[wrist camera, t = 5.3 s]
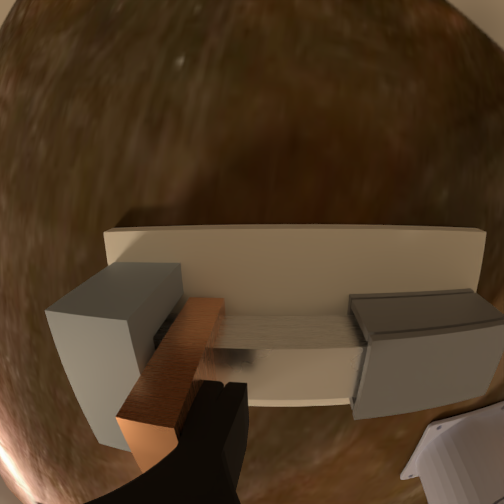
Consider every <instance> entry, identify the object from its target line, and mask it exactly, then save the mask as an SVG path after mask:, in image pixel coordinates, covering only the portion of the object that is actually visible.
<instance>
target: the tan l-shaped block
mask: <svg viewBox="0 0 504 504" xmlns="http://www.w3.org/2000/svg"><path fill="white" fill-rule="evenodd" d="M153 341H154V346H155V353H154V354H153V356H152V357H151V359H150V361H149V362H148V364H147V365H146V367H145V369H144V370H143V372H142V374H141V375H140V377H139V379H138V380H137V382H136V383H135V385H134V387H133V388H132V390H131V392H130V393H129V395H128V397H127V398H126V400H125V402H124V403H123V405H122V407H121V408H120V410H119V412H118V413H117V415H116V420H117V422H118V424H119V426H120V429H121V431H122V433H123V435H124V437H125V439H126V442H127V444H128V446H129V448H130V450H131V452H132V454H133V456H134V458H135V460H136V461H137V463H138V465H139V467H140V469H141V471H142V473H145V472H146V471H147V470H149V469H150V468H151V467H153V466H154V465H155V464H157V463H158V462H159V461H161V460H162V459H163V458H164V457H165V456H167V455H168V454H169V453H170V452H171V451H172V450H173V449H174V448H176V447H177V444H178V442H179V439H180V437H181V433H182V430H183V427H184V424H185V421H186V417H187V414H188V412H189V409H190V407H191V405H192V403H193V401H194V399H195V397H196V395H197V393H198V391H199V389H200V387H201V385H202V384H203V382H204V380H212V381H221V382H222V383H223V384H224V387H225V385H226V384H227V383H228V382H242V383H247V389H248V400H318V399H337V398H351V397H357V394H358V390H359V386H360V381H361V377H362V372H363V367H364V363H365V358H366V352H367V347H368V342H369V341H366V339H365V337H364V334H363V332H362V330H361V328H360V326H359V324H358V321H357V319H356V317H355V315H329V316H233V315H225V300H224V298H200V297H189V299H188V300H187V302H186V303H185V305H184V307H183V308H182V310H181V311H180V313H170V314H169V315H168V317H167V318H166V319H165V321H164V322H163V324H162V325H161V327H160V328H159V330H158V331H157V332H156V334H155V335H154V337H153Z"/></svg>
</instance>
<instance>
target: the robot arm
mask: <svg viewBox="0 0 504 504" xmlns="http://www.w3.org/2000/svg"><path fill="white" fill-rule="evenodd" d="M248 427H249V411H248V389H247V383H242V382H228V383H227V384H226V385H225V387H224V384H223V383H222V382H221V381H212V380H204V382H203V384H202V385H201V387H200V389H199V391H198V393H197V395H196V397H195V399H194V401H193V403H192V405H191V407H190V409H189V412H188V414H187V417H186V421H185V424H184V427H183V430H182V433H181V437H180V439H179V442H178V444H177V447H176V448H174V449H173V450H172V451H171V452H170V453H169V454H168V455H167V456H165V457H164V458H163V459H162V460H161V461H159V462H158V463H157V464H155V465H154V466H153V467H151V468H150V469H149V470H147V471H146V472H145V473H143V474H142V475H140V476H139V477H137V478H135V479H134V480H132V481H130V482H129V483H127V484H125V485H123V486H121V487H120V488H118V489H116V490H114V491H112V492H110V493H108V494H106V495H104V496H101V497H99V498H97V499H94V500H92V501H89V502H87V503H84V504H240V501H239V498H238V496H237V493H236V487H237V483H238V479H239V475H240V471H241V467H242V463H243V459H244V455H245V450H246V446H247V437H248ZM417 476H420V479H421V482H422V485H423V488H424V491H425V494H426V498H427V501H428V504H504V401H502V402H499V403H496V404H494V405H491V406H488V407H485V408H482V409H478V410H475V411H472V412H468V413H465V414H461V415H458V416H454V417H450V418H446V419H442V420H438V421H434V422H432V423H430V424H429V425H428V426H427V428H426V430H425V432H424V434H423V436H422V438H421V440H420V442H419V444H418V445H417V447H416V449H415V451H414V453H413V455H412V456H411V458H410V460H409V462H408V463H407V465H406V467H405V468H404V470H403V472H402V473H401V475H400V478H401V480H405V479H409V478H413V477H417Z"/></svg>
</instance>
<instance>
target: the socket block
mask: <svg viewBox="0 0 504 504" xmlns="http://www.w3.org/2000/svg"><path fill="white" fill-rule="evenodd" d="M183 294H184V292H183V283H182V274H181V264H180V263H152V262H114V263H112V264H111V265H109V266H108V267H106V268H105V269H103V270H102V271H100V272H99V273H97V274H96V275H94V276H93V277H91V278H90V279H88V280H87V281H85V282H84V283H82V284H81V285H80V286H78V287H77V288H75V289H74V290H72V291H71V292H69V293H68V294H67V295H65V296H64V297H62V298H61V299H60V300H58V301H57V302H55V303H54V304H53V305H51V306H50V307H48V308H47V309H46V310H45V313H46V317H47V320H48V323H49V326H50V330H51V333H52V336H53V339H54V342H55V345H56V348H57V350H58V353H59V356H60V359H61V361H62V364H63V366H64V369H65V372H66V374H67V376H68V379H69V381H70V384H71V386H72V388H73V391H74V393H75V395H76V397H77V400H78V402H79V404H80V406H81V408H82V410H83V412H84V414H85V416H86V418H87V420H88V422H89V424H90V426H91V428H92V430H93V432H94V434H95V436H96V438H97V439H98V441H99V443H100V444H104V445H107V446H111V447H114V448H118V449H121V450H125V451H129V452H131V450H130V448H129V446H128V444H127V442H126V439H125V437H124V435H123V433H122V431H121V429H120V426H119V424H118V422H117V420H116V415H117V413H118V412H119V410H120V408H121V407H122V405H123V403H124V402H125V400H126V398H127V397H128V395H129V393H130V392H131V390H132V388H133V387H134V385H135V383H136V382H137V380H138V379H139V377H140V375H141V374H142V372H143V370H144V369H145V367H146V365H147V364H148V362H149V361H150V359H151V357H152V356H153V354H154V353H155V346H154V341H153V337H154V335H155V334H156V332H157V331H158V330H159V328H160V327H161V325H162V324H163V322H164V321H165V319H166V318H167V317H168V315H169V314H170V312H171V311H172V309H173V308H174V306H175V305H176V304H177V302H178V301H179V299H180V298H181V296H182V295H183Z"/></svg>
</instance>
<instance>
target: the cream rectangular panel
mask: <svg viewBox="0 0 504 504" xmlns="http://www.w3.org/2000/svg"><path fill="white" fill-rule="evenodd" d="M104 240H105V247H106V254H107V261H108V266H109V265H111V264H112V263H114V262H152V263H180V264H181V274H182V283H183V292H184V294H183V295H182V296H181V298H180V299H179V301H178V302H177V304H176V305H175V306H174V308H173V309H172V311H171V312H170V313H180V311H181V310H182V308H183V307H184V305H185V303H186V302H187V300H188V299H189V297H200V298H224V300H225V315H233V316H329V315H355V317H356V319H357V321H358V324H359V326H360V328H361V330H362V332H363V334H364V337H365V339H366V341H369V342H368V347H367V352H366V358H365V363H364V367H363V372H362V377H361V381H360V386H359V390H358V394H357V397H351V398H337V399H318V400H248V406H324V405H341V404H351V408H352V410H353V416H354V420H357V419H366V418H375V417H383V416H390V415H396V414H403V413H409V412H414V411H420V410H425V409H430V408H434V407H439V406H443V405H448V404H452V403H456V402H460V401H464V400H468V399H471V398H475V397H478V396H482V395H485V393H486V391H487V389H488V387H489V384H490V382H491V380H492V378H493V375H494V373H495V371H496V369H497V366H498V364H499V361H500V359H501V356H502V354H503V351H504V314H502V313H501V312H500V311H499V310H497V309H496V308H495V307H494V306H493V305H491V304H490V303H489V302H488V301H486V300H485V299H484V298H482V297H481V296H480V295H479V294H477V293H476V291H477V286H478V281H479V276H480V271H481V266H482V260H483V254H484V247H485V240H486V232H485V231H483V230H480V229H478V228H466V227H440V226H407V225H357V224H238V225H185V226H151V227H123V228H112V229H110V230H107V231H105V232H104Z"/></svg>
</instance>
